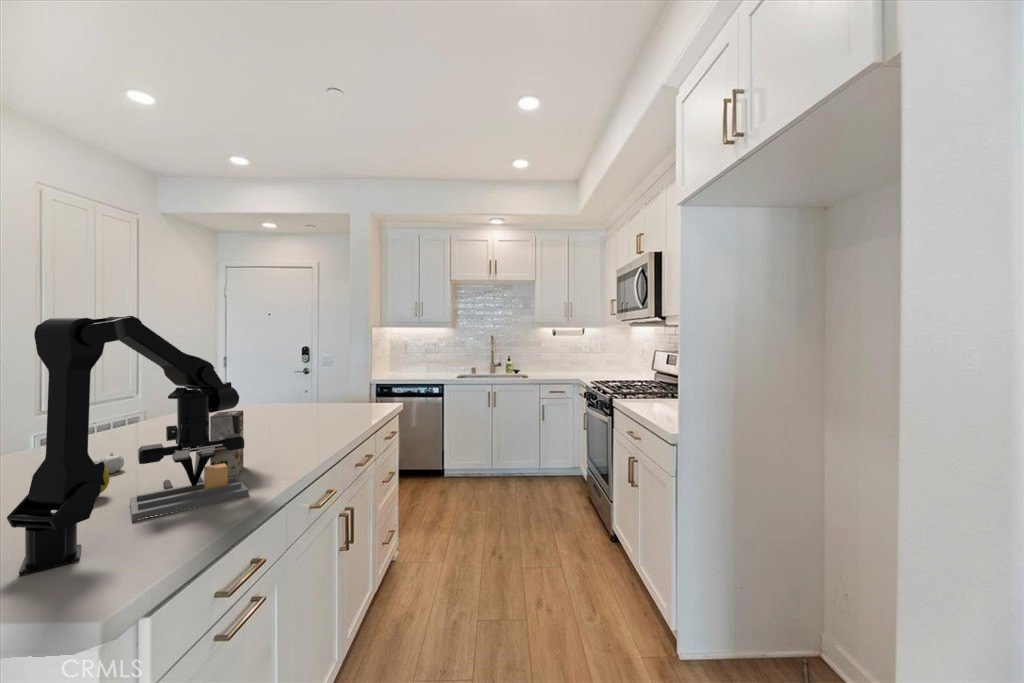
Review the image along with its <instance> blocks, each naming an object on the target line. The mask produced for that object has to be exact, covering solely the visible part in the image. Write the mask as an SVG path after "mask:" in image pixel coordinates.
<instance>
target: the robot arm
mask: <svg viewBox="0 0 1024 683" xmlns="http://www.w3.org/2000/svg"><path fill="white" fill-rule="evenodd" d="M33 336H34V340H35V348H36V352H37V353H36V354H37V355H38V357H39V358H40V360H41V362H42V363H43V364H44V366H45V367H46V369H47V370H48V383H47V384H48V386H47V412H46V413H47V414H46V434H45V435H46V438H45V440H46V442H45V457H44V459H43V461H42V462H41V464H40V465H39V466H38V468H37V469H36V470H35V472H34V473H33V475H32V477H31V478H32V479H31V482H30V486H29V491H28V493H27V494H26V496H25V497H24V498H22V500H21V501H20V502H19V504H17V505H16V507H15V508H14V509H13V510H12V511H11V512H10V513H9V514H8V515H7V517H6V519H7V522H8V523H9V525H10V526H11V528H13V529H14V528H22V529H23V528H24V533H25V534H24V538H25V539H24V540H25V541H24V545H25V549H24V552H25V557H24V558H23V561H22V562H21V565H20V568H19V570H18V576H23V575H26V574H27V575H28V574H30V573H34V572H39V571H43V570H46V569H51V568H55V567H58V566H62V565H67V564H70V563H73V562H74V563H75V562H77V561H80V558H81V552H82V551H81V550H82V544H78V524H79V523H81V522H85V521H87V520H89V519H90V517H91V515H92V512H93V509H94V507H95V504H96V500H97V499H99V497H100V494H101V493H100V491H101V485H105V482H104V478H103V474H104V469H105V465H104V462H99V460H98V461H97V460H96V461H95V460H94V461H93V458H91V456H90V454H89V430H90V429H89V428H90V427H89V426H90V401H91V400H90V399H91V372H92V370H93V368H94V366H95V365H96V363H97V362H98V361H99V360H100V359H101V357H102V355H103V353H104V349H105V344H106V343H112V342H117V341H120V342H121V343H123V344H124V345H126V346H127V347H128V348H130V349H131V350H133V351H135V352H137V353H138V354H140V355H142V356H143V357H144V358H146V359H147V360H149V361H151V362H152V363H154V364H156V365H157V366H159V367H160V368H161V370H163V373H164V375H165V377H166V378H167V379H168V380H170V382H171V383H173V385H175V386H177V387H176V388H175V389H174V391H172V392H171V393H170V394H169V395H168V396H167V398H168V399H169V400H176V401H177V404H176V405H177V406H176V407H177V408H176V409H177V411H176V412H177V416H176V417H177V425H175V424H174V425H166V427H165V429H166V430H165V438H166V441H167V442H171V441H175V445H171V446H164V445H163V443H156V444H145V445H141V446H140V447H139V448H138V449H137V461H138V463H139V465H145V464H151V463H158V462H160V461H161V460H162V459H164V457H167V456H172V457H171V458H172V461H173V462H174V463H175V464H177V463H180V464H181V465H182V467H183V468H184V470H185V472H186V475H187V477H188V480H189V482H190V485H192V486H196V485H197V483H198V481H199V478H200V476H202V473H203V471H204V467H205V466H206V465H207V463H208V462H209V461H210V458H211V457H214V456H215V453H214V450H215V448H221V447H225V448H226V449H228V450H229V451H230V450H237V449H243V450H244V448H245V438H244V436H243V437H241V436H240V435H239V434H237V433H236V434H229V435H221V437H220V440H213V441H210V414H212V413H213V414H214V413H218V412H223V411H226V410H227V411H228V410H231V409H234V408H236V406H237V405H238V404H239V401H240V395H239V393H238V391H237V390H236V389H235V388H234V387H233V386H232V382H231V381H224V382H223V381H222V379H221V378H220V377H219V375H218V373H217V371H216V370H215V367H214V365H213V364H212V363H211V362H210V361H208V360H206V359H204V358H201V357H199V356H195V355H192V354H188V353H185V352H184V351H182V350H180V349H179V348H178V347H177V346H175V345H173V344H172V343H170V342H169V341H168V340H166V339H165V338H164V337H162V336H161V335H159V334H158V333H156V332H155V331H154V330H152V329H150V327H148V326H147V325H145V324H143V322H142V320H141V319H140V318H138V317H136V316H134V315H110V316H108V317H102V318H90V317H54V318H52V317H51V318H48V319H46V320H44V321H43V322H40V324H37V325H36V327H35V330H34V335H33ZM193 452H195V461H194V462H195V464H194V466H193V459H192V457H191V455H190V453H193ZM52 511H55V512H52Z"/></svg>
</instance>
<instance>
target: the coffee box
mask: <svg viewBox="0 0 1024 683" xmlns="http://www.w3.org/2000/svg"><path fill="white" fill-rule="evenodd" d="M236 433H237V434H239V435H240V436H241V437H243V438H244V410H229V411H228V410H227V411H218V412H215V413H213V415H211V416H209V441H213V440H220V437H221V435H229V434H236ZM214 453H215V456H214V457H211V458H210V459H209V461H210V464H209V466H211V465H217V464H223V463H225V464H226V465H227V466H228V477H234V476H235V475H236V476H238V475H239V474H240V472H241V471H242V469H243V468H244V448H243V449H237V450H230V451H229V450H228V449H226V448H225V447H221V448H215V450H214ZM242 467H243V468H242ZM236 476H235V477H236Z"/></svg>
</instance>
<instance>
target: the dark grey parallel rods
mask: <svg viewBox="0 0 1024 683" xmlns="http://www.w3.org/2000/svg"><path fill="white" fill-rule="evenodd" d="M201 476H202V475H201ZM201 476H200V478H199V481H198V483H203V482H204V478H202V477H201ZM162 484H163V487H164V490H166V489H171V488H174V486H173V485H172V482H171V480H170V479H165V480H163V482H162Z"/></svg>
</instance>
